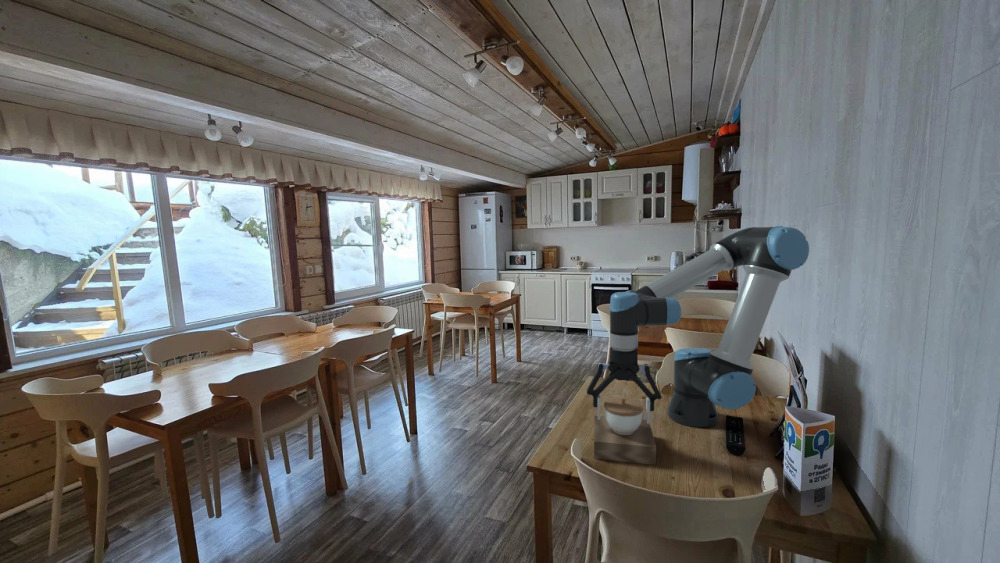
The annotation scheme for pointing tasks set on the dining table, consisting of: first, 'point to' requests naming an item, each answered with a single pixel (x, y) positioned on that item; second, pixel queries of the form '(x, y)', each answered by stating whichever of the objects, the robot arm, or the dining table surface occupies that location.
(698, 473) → the dining table surface
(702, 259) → the robot arm
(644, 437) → the block
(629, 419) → the lidded jar
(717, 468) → the dining table surface
